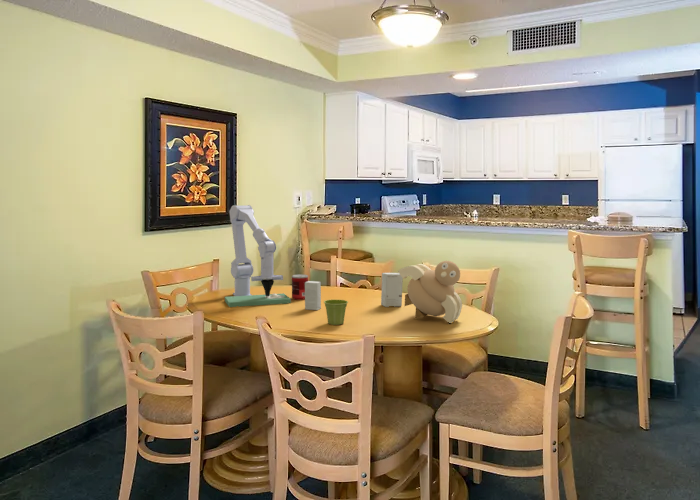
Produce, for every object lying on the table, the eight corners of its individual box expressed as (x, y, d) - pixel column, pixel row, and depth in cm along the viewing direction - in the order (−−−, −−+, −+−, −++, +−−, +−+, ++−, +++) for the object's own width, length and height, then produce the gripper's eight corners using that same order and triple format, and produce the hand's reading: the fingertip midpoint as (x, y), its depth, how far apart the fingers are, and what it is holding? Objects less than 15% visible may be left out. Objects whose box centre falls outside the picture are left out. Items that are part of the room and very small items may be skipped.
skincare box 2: (385, 307, 247) (385, 274, 245) (380, 304, 252) (381, 272, 251) (402, 306, 249) (403, 273, 248) (397, 303, 255) (398, 271, 253)
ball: (274, 291, 260) (280, 296, 260) (270, 297, 261) (276, 302, 260) (272, 292, 257) (277, 296, 256) (267, 298, 257) (273, 302, 257)
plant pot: (323, 320, 221) (323, 299, 220) (346, 320, 221) (347, 299, 220) (324, 326, 211) (324, 304, 210) (348, 326, 212) (348, 303, 211)
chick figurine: (420, 239, 214) (443, 235, 233) (377, 288, 226) (402, 280, 245) (475, 296, 204) (494, 287, 223) (426, 344, 216) (449, 332, 235)
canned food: (309, 296, 269) (309, 274, 268) (306, 300, 261) (306, 277, 260) (293, 296, 270) (293, 274, 269) (290, 299, 262) (290, 276, 261)
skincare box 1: (321, 308, 243) (321, 281, 242) (317, 310, 239) (317, 283, 238) (308, 307, 245) (308, 280, 244) (304, 309, 241) (304, 282, 240)
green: (224, 301, 257) (224, 296, 257) (283, 297, 267) (283, 293, 267) (229, 307, 244) (229, 302, 244) (290, 303, 254) (290, 298, 254)
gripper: (253, 268, 249) (253, 298, 251) (284, 267, 254) (284, 296, 256) (250, 266, 256) (250, 295, 257) (281, 265, 261) (281, 293, 262)
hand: (267, 295), depth 257 cm, fingers closed
